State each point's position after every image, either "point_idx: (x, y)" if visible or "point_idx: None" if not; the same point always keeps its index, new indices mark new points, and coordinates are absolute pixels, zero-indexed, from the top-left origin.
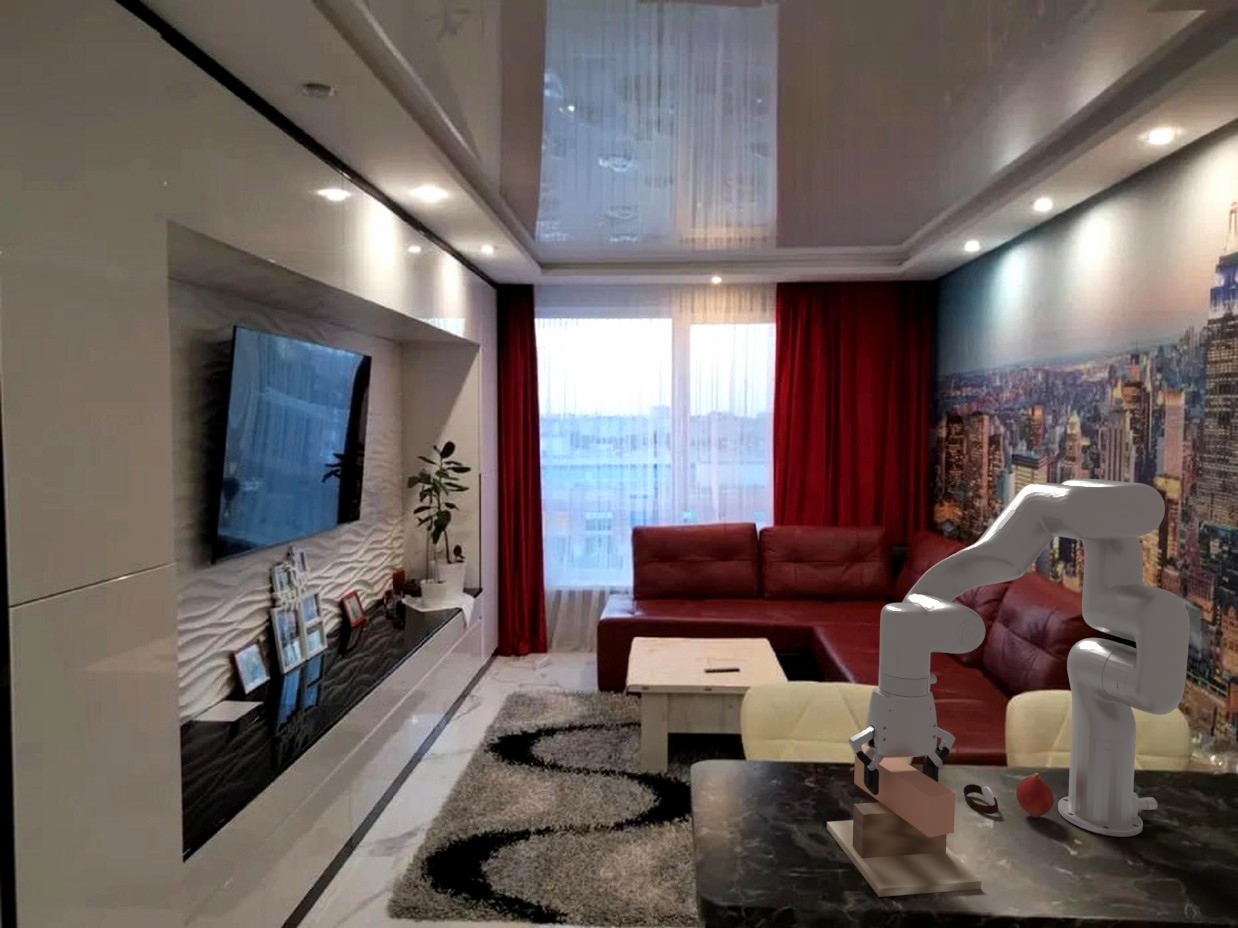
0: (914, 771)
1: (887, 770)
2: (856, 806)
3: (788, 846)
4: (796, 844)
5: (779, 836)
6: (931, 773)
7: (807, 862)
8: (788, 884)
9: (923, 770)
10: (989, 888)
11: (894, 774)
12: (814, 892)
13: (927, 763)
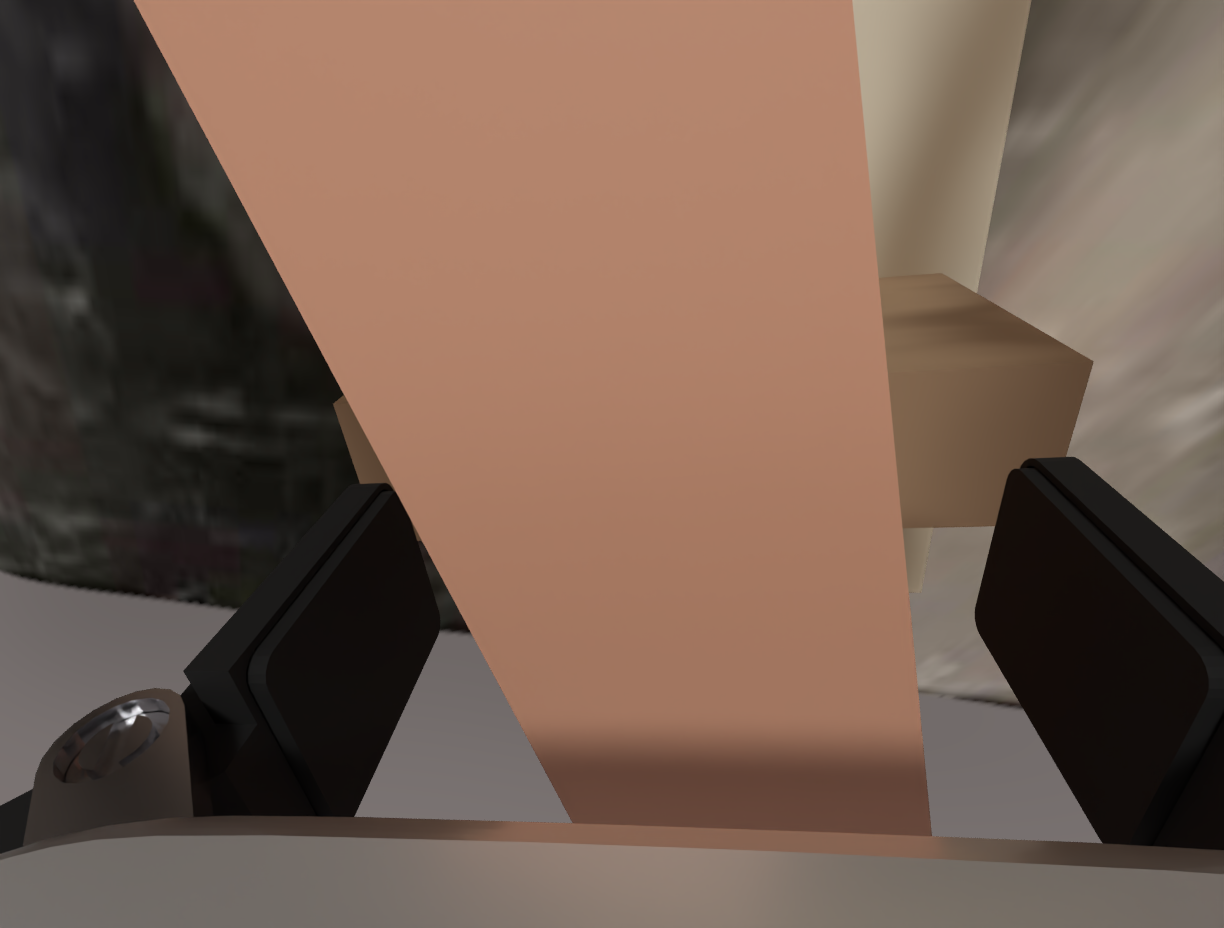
0: (848, 764)
1: (509, 693)
2: (350, 441)
3: (145, 216)
4: (183, 197)
5: (82, 102)
6: (1070, 767)
7: (243, 360)
8: (178, 493)
9: (1097, 577)
10: (947, 570)
11: (556, 780)
12: (272, 539)
13: (1178, 762)
